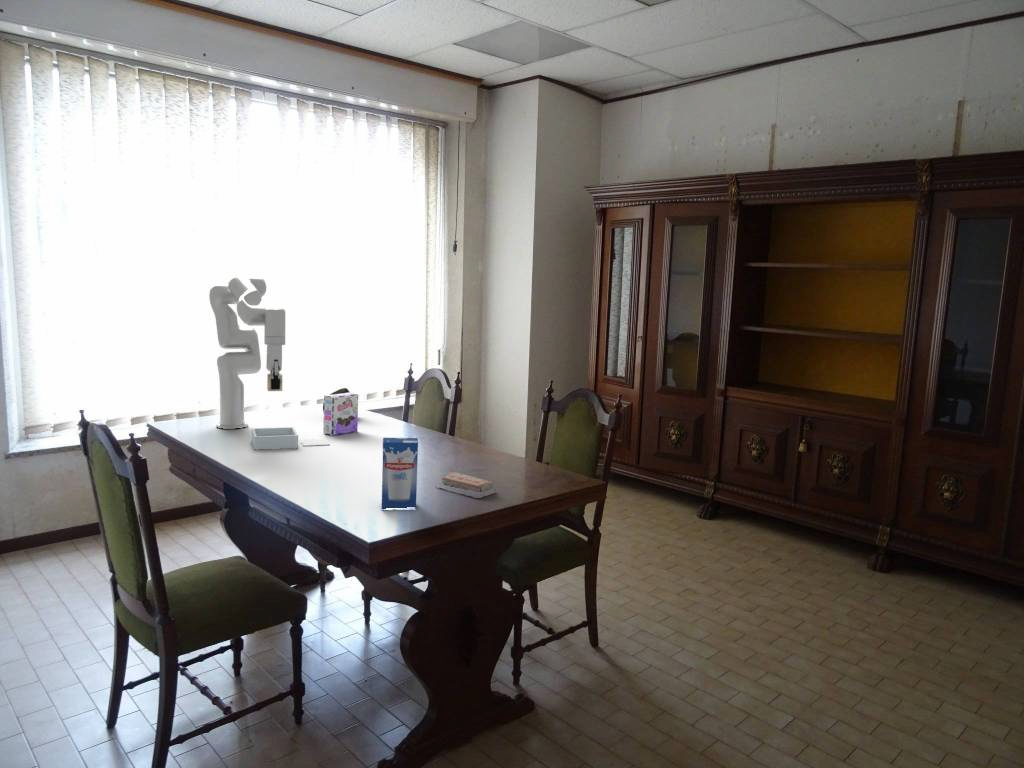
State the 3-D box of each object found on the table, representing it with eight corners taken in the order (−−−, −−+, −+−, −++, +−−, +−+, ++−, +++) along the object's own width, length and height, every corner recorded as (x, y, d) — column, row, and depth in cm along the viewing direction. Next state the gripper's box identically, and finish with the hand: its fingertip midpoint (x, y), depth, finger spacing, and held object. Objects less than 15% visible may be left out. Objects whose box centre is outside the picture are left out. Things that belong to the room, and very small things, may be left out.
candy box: (332, 436, 303) (332, 396, 301) (322, 434, 307) (323, 394, 304) (358, 431, 314) (358, 393, 312) (348, 429, 317) (349, 391, 315)
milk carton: (415, 503, 219) (417, 437, 216) (416, 510, 213) (418, 442, 210) (381, 503, 217) (383, 437, 215) (381, 510, 211) (382, 442, 208)
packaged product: (498, 479, 233) (478, 485, 225) (497, 494, 234) (477, 501, 226) (455, 468, 244) (434, 474, 236) (454, 483, 245) (434, 489, 237)
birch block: (267, 389, 282) (267, 373, 281) (280, 388, 284) (281, 373, 283) (268, 391, 278) (268, 375, 277) (282, 391, 280) (282, 375, 279)
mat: (300, 440, 292) (300, 439, 292) (325, 439, 296) (325, 438, 296) (303, 446, 283) (303, 445, 283) (329, 445, 287) (329, 444, 287)
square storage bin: (252, 441, 288) (252, 428, 287) (293, 439, 294) (293, 427, 293) (254, 450, 274) (254, 437, 273) (298, 448, 280) (298, 435, 279)
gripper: (262, 338, 285) (262, 384, 287) (266, 342, 269) (266, 391, 272) (283, 338, 288) (282, 384, 290) (287, 342, 272) (287, 391, 275)
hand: (274, 387), depth 281 cm, fingers closed on birch block, 4 cm apart
